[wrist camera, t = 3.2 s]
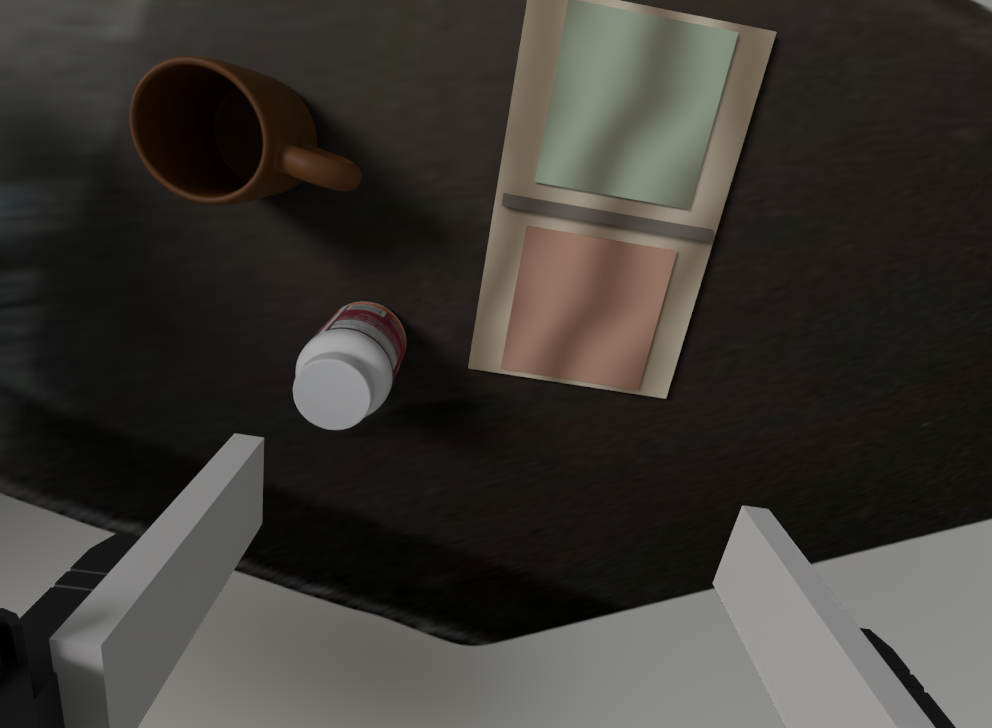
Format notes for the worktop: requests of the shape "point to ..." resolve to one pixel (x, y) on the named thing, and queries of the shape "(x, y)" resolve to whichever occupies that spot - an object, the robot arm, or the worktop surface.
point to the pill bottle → (349, 366)
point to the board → (611, 189)
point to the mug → (228, 134)
